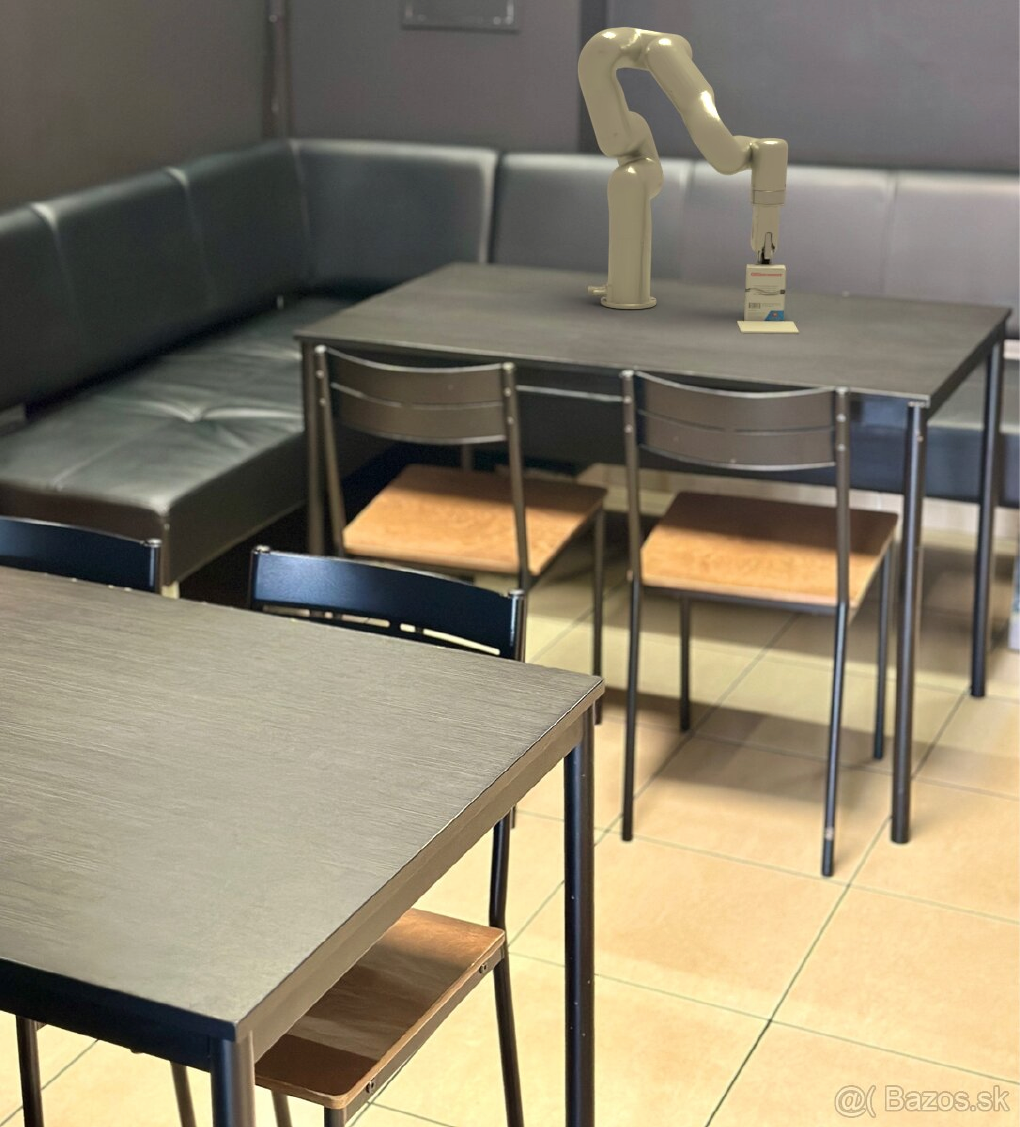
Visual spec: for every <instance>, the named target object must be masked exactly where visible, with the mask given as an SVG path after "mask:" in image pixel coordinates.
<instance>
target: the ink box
mask: <svg viewBox="0 0 1020 1127" xmlns="http://www.w3.org/2000/svg"><path fill="white" fill-rule="evenodd" d="M786 286H787V267H786V265H785V264H771V265H761V264H758V263H755V264H753V263H752V264H751V263H747V264H746V269H745V283H744V306H743V310H744V311H743V321H784V320H785V306H786V300H785V299H786V289H787V288H786Z"/></svg>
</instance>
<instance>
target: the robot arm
mask: <svg viewBox="0 0 1020 1127" xmlns="http://www.w3.org/2000/svg"><path fill="white" fill-rule="evenodd" d="M623 68H629V69H637V70H643V71H648V72H649V74H650V75H651V76H652V77H653V79H654V80H655V81H656V82H657V84H658V85H659V86H660V88H661V90H663V92H664V94H665V95H666V96H667V98H668V99H669V100H670V101H671V103H672V104H673V106H674V107H675V109H676V110H677V111H678V113H679V114H680V117H681V119H682V122H683V125H685V127H686V130H687V132H688V133H689V135H690V138H691V140H692V141H693V143H694V144H695V146H696V147H697V149H698V150H699V152H700V153H701V154H702V156H703V157H704V158H705V160H706V161H707V162H708V164H709V165H710V167H712V168H713V169H714V170H715V171H716V172H717V173H719V174H721V175H723V176H733V175H736V174H739V173H740V172H743V171H750V170H751V175H750V176H751V178H750V195H749V198H750V199H749V205H750V206H753V211H752V219H751V220H752V222H751V231H750V232H751V235H750V244H749V245H750V247H751V250H752V251H754V253H756V254H757V256H756V257H757V258H756V264H761V265H773V264H772V263H773V262H772V260H773V253H776V252H777V251H778V244H779V231H780V230H779V228H780V212H781V211H780V208H781V207H783V206H785V205H786V193H787V178H788V177H787V176H788V175H787V174H788V157H789V145H788V142H787V141H786V140H785V139H783V138H775V137H773V138H772V137H766V138H764V137H763V138H758V137H751V136H746V135H745V136H744V135H732V133H731V132H730V130H729V128H727V126H726V125H725V124H724V122H723V120H722V119H721V116H720V114H719V113H718V110H717V108H716V103H715V100H716V99H715V93H714V90H713V87H712V86H711V84H710V83H709V82H708V81H707V79H706V78H705V77H704V75H703V74H702V72H701V71H700V70H699V68H698V67H697V65H696V64H695V63H694V61H693V49H692V47H691V44H690V42H689V41H688V40H687V39H686V38H685V37H683V36H681V35H679V34H674V33H669V32H668V33H666V32H661V31H660V32H659V31H653V30H648V29H647V30H646V29H643V28H642V29H641V28H635V27H629V26H623V27H621V26H620V27H612V28H607V29H603V30H601V31H599V32H597V33H596V34H594V35H593V36H592V37H591V38H590V39H589V40H588V41H587V42H586V44H585V45H584V46H583V48H582V50H581V52H580V54H579V57H578V62H577V76H578V81H579V86H580V88H581V92H582V95H583V98H584V100H585V101H584V102H585V104H586V108H587V111H588V115H589V117H590V122H591V125H592V128H593V131H594V134H595V138H596V141H597V144H598V145H597V146H598V147H599V149H600V151H601V152H602V153H603V155H605V156H607V157H608V158H610V159H616V161H617V165H618V166H617V167H616V168H615V169H614V170H613V171H612V172H611V174H610V176H609V178H608V182H607V185H606V186H607V190H606V192H607V194H606V195H607V204H608V205H607V206H608V221H609V222H608V225H609V226H608V227H609V228H608V273H607V274H608V275H607V276H608V277H607V281H606V282H605V283H606V284H602V285H601V286H595V285H588V286H587V287H588V288H587V295H593V296H595V297H596V296H597V297H598V296H602V297H601V298H600V305H602V306H604V307H605V308H606V307H607V308H611V309H619V310H641V309H642V310H643V309H649V308H653V307H655V306H656V305H657V298H655V297H654V296H650V295H651V294H650V293H651V265H652V264H651V263H652V262H651V260H652V234H653V233H652V232H653V231H652V230H653V229H652V227H653V225H652V224H653V222H652V221H653V220H652V210H651V200H652V199H654V198H655V197H656V196H657V195H658V194H660V192H661V191H662V189H663V186H664V180H665V176H664V171H663V167H662V163H661V160H660V156H659V153H658V149H657V148H656V143H655V140H654V138H653V134H652V132H651V129H650V126H649V124H648V123H647V121H646V119H645V118H644V117H643V116H642V115H640V114H639V113H637V112H635V111H631V110H630V108H629V106H628V103H627V101H626V96H625V93H624V91H623V88H622V86H621V84H620V81H619V80H618V77H617V70H618V69H619V70H620V69H623Z"/></svg>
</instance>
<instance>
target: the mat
mask: <svg viewBox="0 0 1020 1127" xmlns="http://www.w3.org/2000/svg"><path fill="white" fill-rule="evenodd" d="M736 321H737V322H736V323H737V326H738V328H739V330H740V332H741V334H793V335H794V334H797V335H798V334H799V333H800V331H799V329H798V328H797V326H796V324H795V323H794V321H792V320H791V321H790V320H789V321H744V320H736Z"/></svg>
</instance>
